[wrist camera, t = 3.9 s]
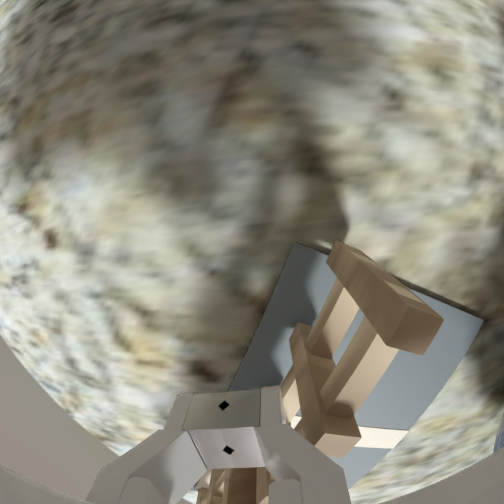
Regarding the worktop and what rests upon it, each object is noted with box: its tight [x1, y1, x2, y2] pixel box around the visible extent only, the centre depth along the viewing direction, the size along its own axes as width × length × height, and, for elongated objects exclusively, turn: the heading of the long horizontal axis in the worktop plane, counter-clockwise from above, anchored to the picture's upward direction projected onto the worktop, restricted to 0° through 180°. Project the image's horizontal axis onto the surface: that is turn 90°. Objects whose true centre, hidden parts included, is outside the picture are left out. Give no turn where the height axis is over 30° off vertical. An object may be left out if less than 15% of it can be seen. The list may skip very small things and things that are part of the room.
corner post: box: [229, 467, 257, 504], centre depth 11 cm, size 2×2×8 cm
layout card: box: [191, 242, 484, 491], centre depth 15 cm, size 13×21×1 cm, turn 159°
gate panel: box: [256, 240, 444, 504], centre depth 10 cm, size 9×1×6 cm, turn 159°
